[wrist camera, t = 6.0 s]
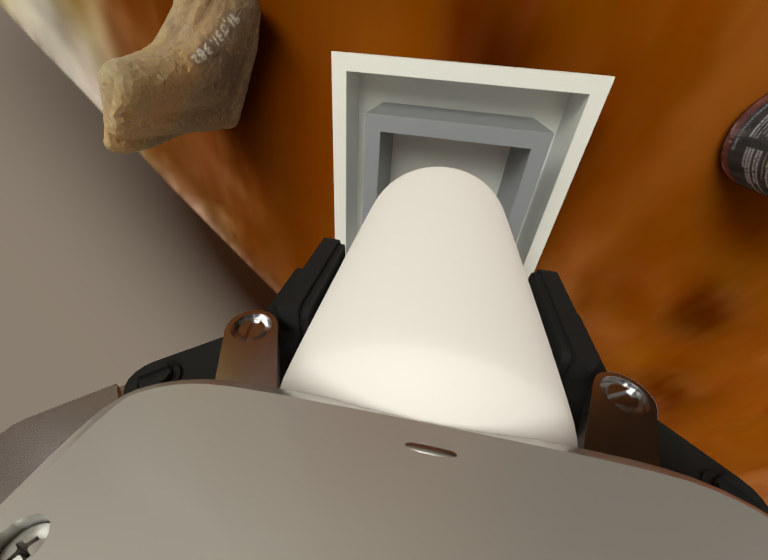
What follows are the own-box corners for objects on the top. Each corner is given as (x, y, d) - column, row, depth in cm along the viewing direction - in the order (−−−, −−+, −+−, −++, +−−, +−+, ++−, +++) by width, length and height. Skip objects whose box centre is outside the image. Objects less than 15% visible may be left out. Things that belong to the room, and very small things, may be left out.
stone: (240, 140, 24) (133, 179, 16) (181, 98, 23) (36, 118, 15) (285, 13, 19) (164, -20, 11) (213, -47, 18) (24, -129, 10)
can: (461, 303, 18) (473, 607, 8) (352, 256, 17) (223, 521, 7) (536, 201, 14) (737, 546, 4) (399, 137, 13) (258, 361, 4)
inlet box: (586, 73, 18) (634, 78, 14) (512, 273, 26) (525, 321, 22) (351, 52, 20) (318, 50, 15) (349, 247, 28) (327, 287, 23)
